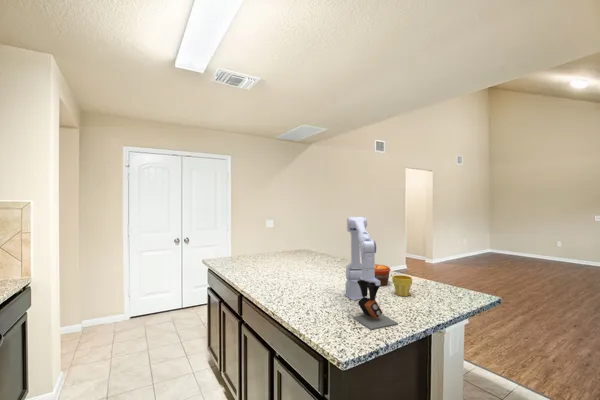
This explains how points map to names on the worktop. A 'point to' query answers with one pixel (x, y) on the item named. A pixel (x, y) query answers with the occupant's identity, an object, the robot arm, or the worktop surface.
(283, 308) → the worktop surface
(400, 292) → the plant pot
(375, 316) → the battery
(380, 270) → the food container
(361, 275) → the robot arm
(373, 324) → the mat
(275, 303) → the worktop surface
